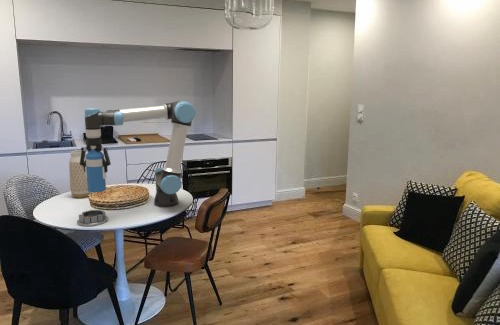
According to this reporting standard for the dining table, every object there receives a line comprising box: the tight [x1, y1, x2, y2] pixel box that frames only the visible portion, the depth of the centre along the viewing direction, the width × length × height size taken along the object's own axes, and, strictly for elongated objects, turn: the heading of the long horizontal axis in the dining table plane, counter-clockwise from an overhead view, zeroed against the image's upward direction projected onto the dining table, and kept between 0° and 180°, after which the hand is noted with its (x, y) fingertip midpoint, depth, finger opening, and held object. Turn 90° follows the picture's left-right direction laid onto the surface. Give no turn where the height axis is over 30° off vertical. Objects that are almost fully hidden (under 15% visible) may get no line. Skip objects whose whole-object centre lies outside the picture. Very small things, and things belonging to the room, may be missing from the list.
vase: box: [68, 149, 92, 199], centre depth 265 cm, size 14×14×31 cm
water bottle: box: [86, 146, 107, 193], centre depth 217 cm, size 9×9×25 cm
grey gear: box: [76, 209, 109, 228], centre depth 217 cm, size 16×16×5 cm
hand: (96, 178), depth 218 cm, fingers closed on water bottle, 9 cm apart
